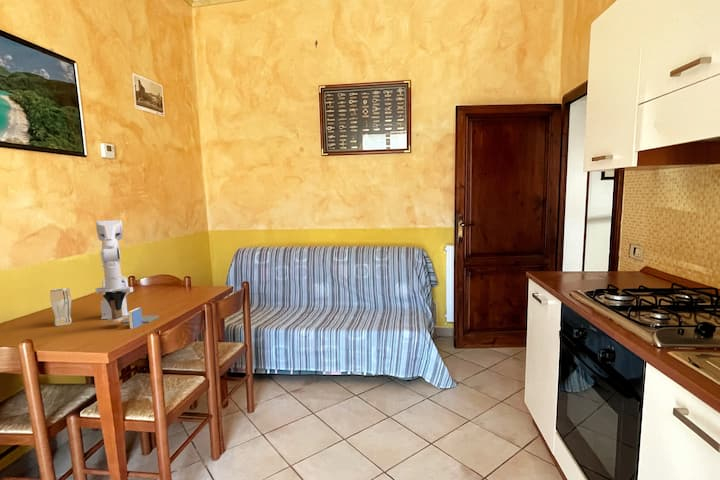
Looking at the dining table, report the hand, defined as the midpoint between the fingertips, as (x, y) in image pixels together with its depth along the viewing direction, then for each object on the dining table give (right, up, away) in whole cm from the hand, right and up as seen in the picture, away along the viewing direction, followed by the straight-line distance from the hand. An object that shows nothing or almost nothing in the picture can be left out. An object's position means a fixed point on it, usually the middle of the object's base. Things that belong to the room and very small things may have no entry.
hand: (116, 309), depth 156 cm
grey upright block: (0, -4, +1) cm, 4 cm away
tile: (+8, -7, +1) cm, 11 cm away
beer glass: (-27, -8, +7) cm, 29 cm away
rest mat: (+5, -6, +9) cm, 12 cm away
